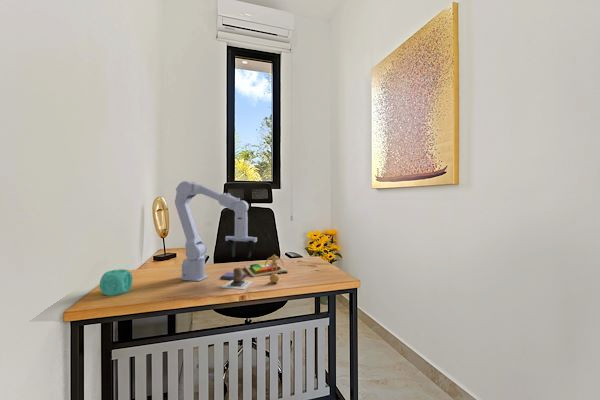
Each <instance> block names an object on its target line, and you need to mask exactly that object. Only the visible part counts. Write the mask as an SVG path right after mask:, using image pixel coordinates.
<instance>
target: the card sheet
mask: <svg viewBox="0 0 600 400" xmlns="http://www.w3.org/2000/svg"><path fill="white" fill-rule="evenodd" d="M233 281H234V280H230V281H228V282H227V283H225V284H224V285H222V286H221V288H223V289H235V290H246V289H247V287H249V286H250V285H251V284H253V282H254V281H252V280H243V281H244V284H243V285H242V286H231V283H232V282H233Z"/></svg>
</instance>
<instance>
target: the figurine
mask: <svg viewBox="0 0 600 400" xmlns="http://www.w3.org/2000/svg"><path fill="white" fill-rule="evenodd" d="M269 260H271V261H272V262H273V263H271V267H272V274H271V275H269V280H270V282H271V283H272V284H276V283H277V282H279V280H280V276H279V274H278V273H277V272H276V270H277V264H278V262H277V260H280V262H281V264H282V267H283V266H284V262H283V260H282V258H280V257H279V256H277V255H276V254H273V255H271V256H270V257H268V258H267V259H266V261H265V262H266V263H267V262H269ZM265 262H264V263H265ZM266 263H265V266H266ZM274 265H275V267H276V269H275V273H273V267H274Z"/></svg>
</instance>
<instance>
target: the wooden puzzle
mask: <svg viewBox="0 0 600 400" xmlns="http://www.w3.org/2000/svg"><path fill="white" fill-rule="evenodd" d="M265 263H266V261H265V262H261V263H260V262H259V263H253V264H250V266H246V265H243V268H244V270H246V271H247V272H248V273H249V275H250V277H252V278H257V277H263V276H265V277H266V276H271V275H272V267H271V263H273V262H272V260H271V261H267V263H266V266H265ZM275 269H276V267H275V265H274V267H273V273H275ZM276 272H277V274H279V273H286V274H288V273H289V271H288V270H287V269H286V268H284V267H283V266H282V265H280V264H279V263H277V270H276Z"/></svg>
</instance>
